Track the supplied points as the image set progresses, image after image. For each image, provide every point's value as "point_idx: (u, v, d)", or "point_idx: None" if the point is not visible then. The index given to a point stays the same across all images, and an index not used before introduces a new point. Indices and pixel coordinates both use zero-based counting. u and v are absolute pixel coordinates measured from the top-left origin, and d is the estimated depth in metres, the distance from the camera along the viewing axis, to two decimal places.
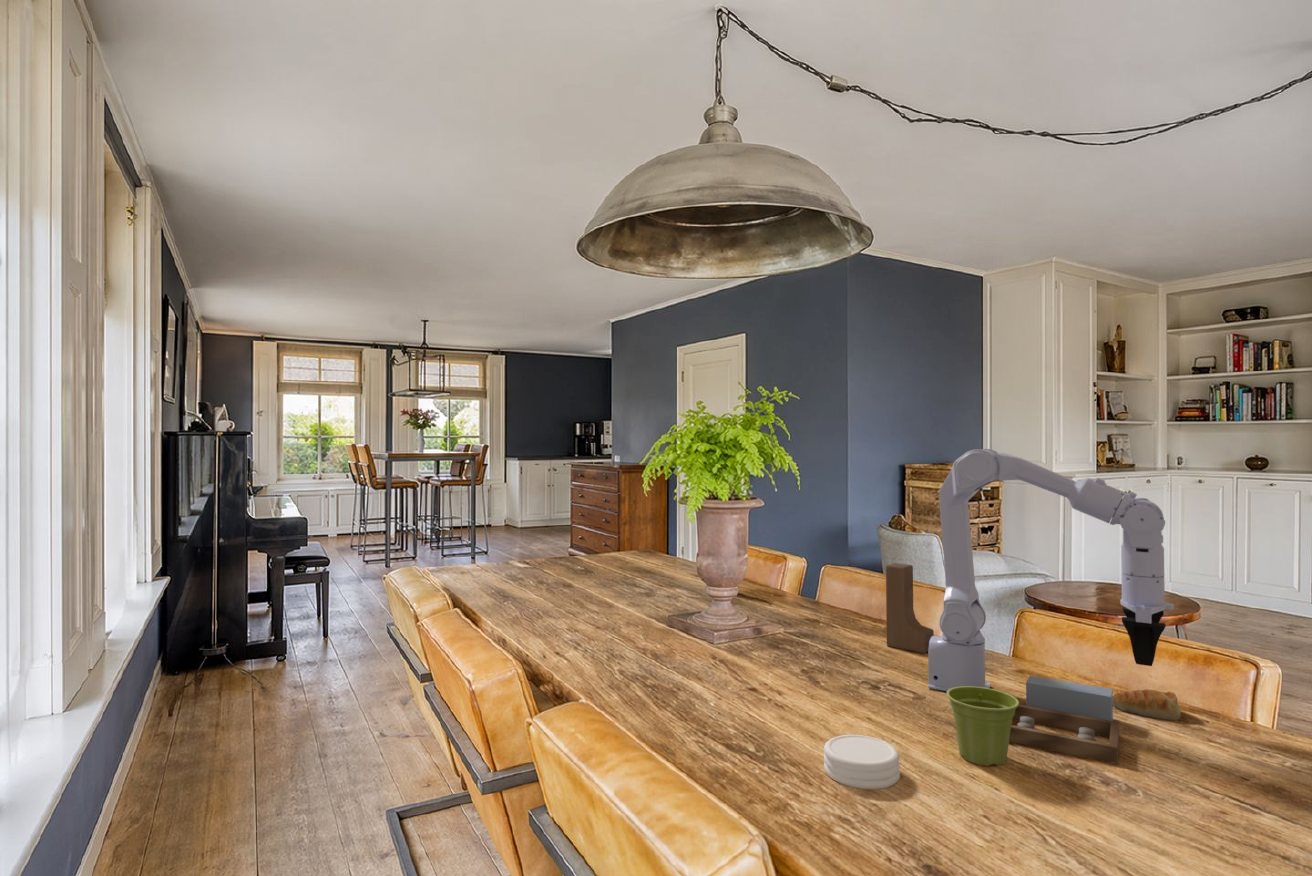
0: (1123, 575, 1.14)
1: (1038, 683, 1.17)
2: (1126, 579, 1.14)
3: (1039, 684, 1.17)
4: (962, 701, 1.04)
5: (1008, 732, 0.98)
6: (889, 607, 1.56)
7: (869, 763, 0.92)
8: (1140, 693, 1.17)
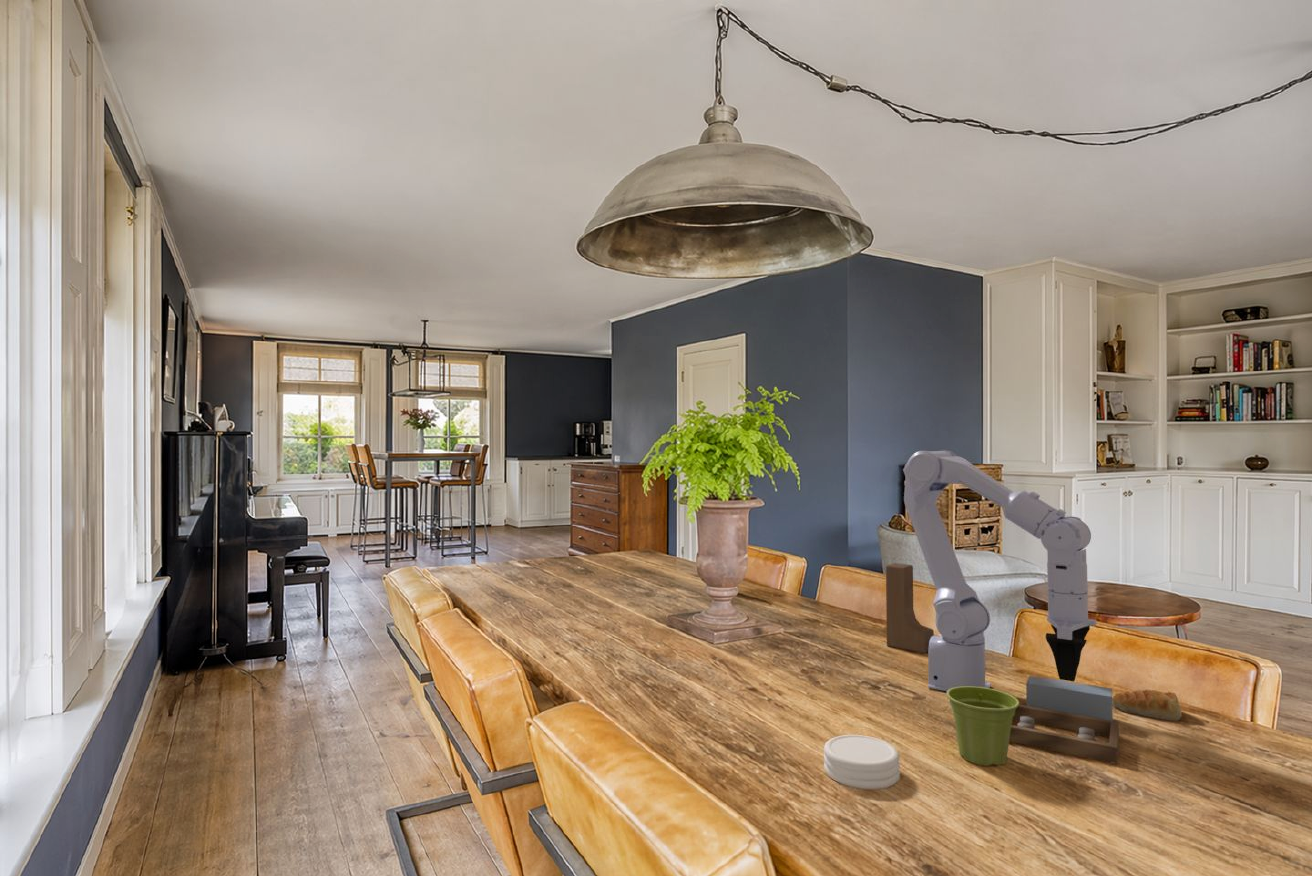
0: (1048, 592, 1.17)
1: (1039, 684, 1.17)
2: (1051, 596, 1.16)
3: (1040, 684, 1.17)
4: (962, 701, 1.04)
5: (1008, 732, 0.98)
6: (889, 607, 1.56)
7: (869, 763, 0.92)
8: (1141, 694, 1.17)
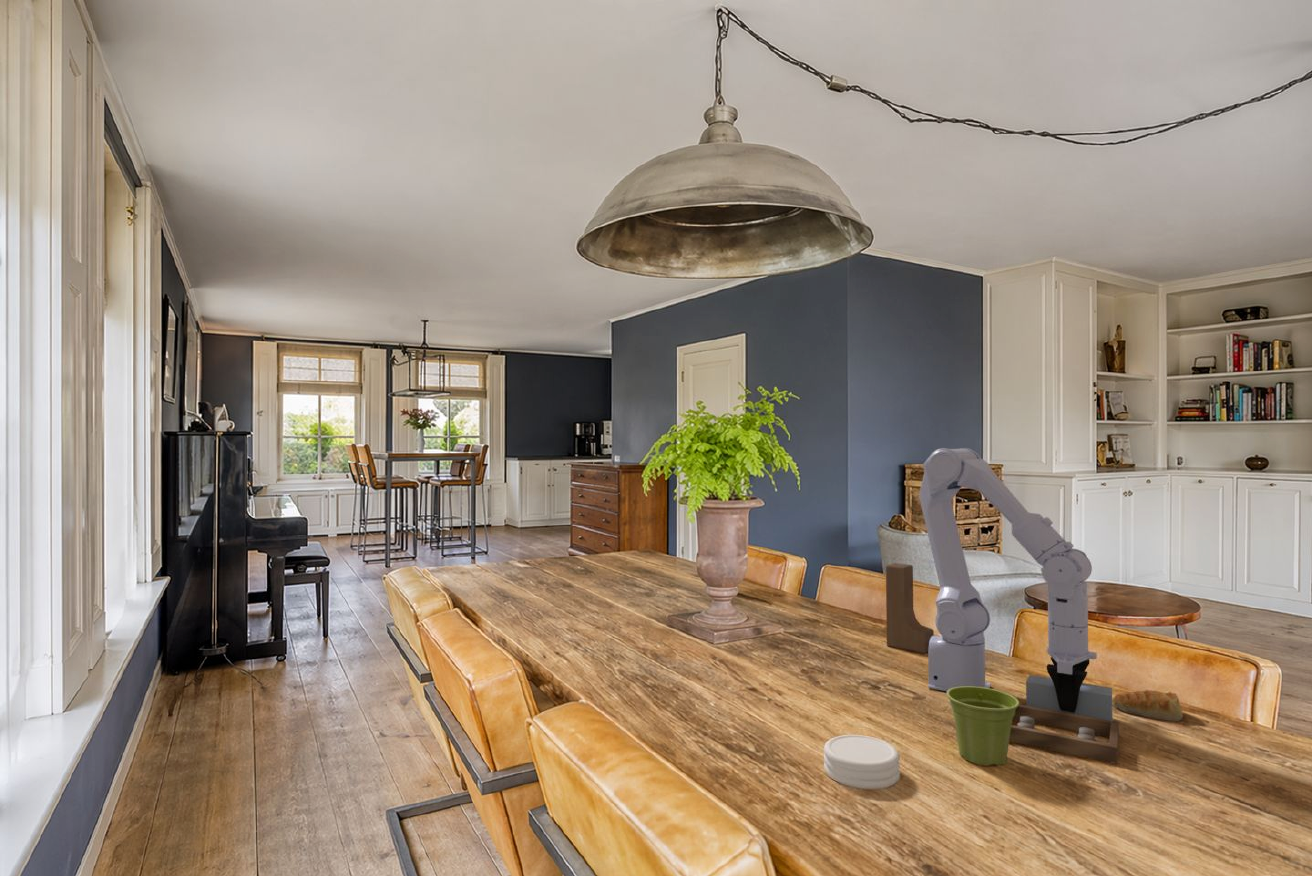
0: (1049, 624, 1.17)
1: (1038, 683, 1.17)
2: (1051, 628, 1.16)
3: (1039, 683, 1.17)
4: (962, 701, 1.04)
5: (1008, 732, 0.98)
6: (889, 607, 1.56)
7: (869, 763, 0.92)
8: (1142, 694, 1.17)
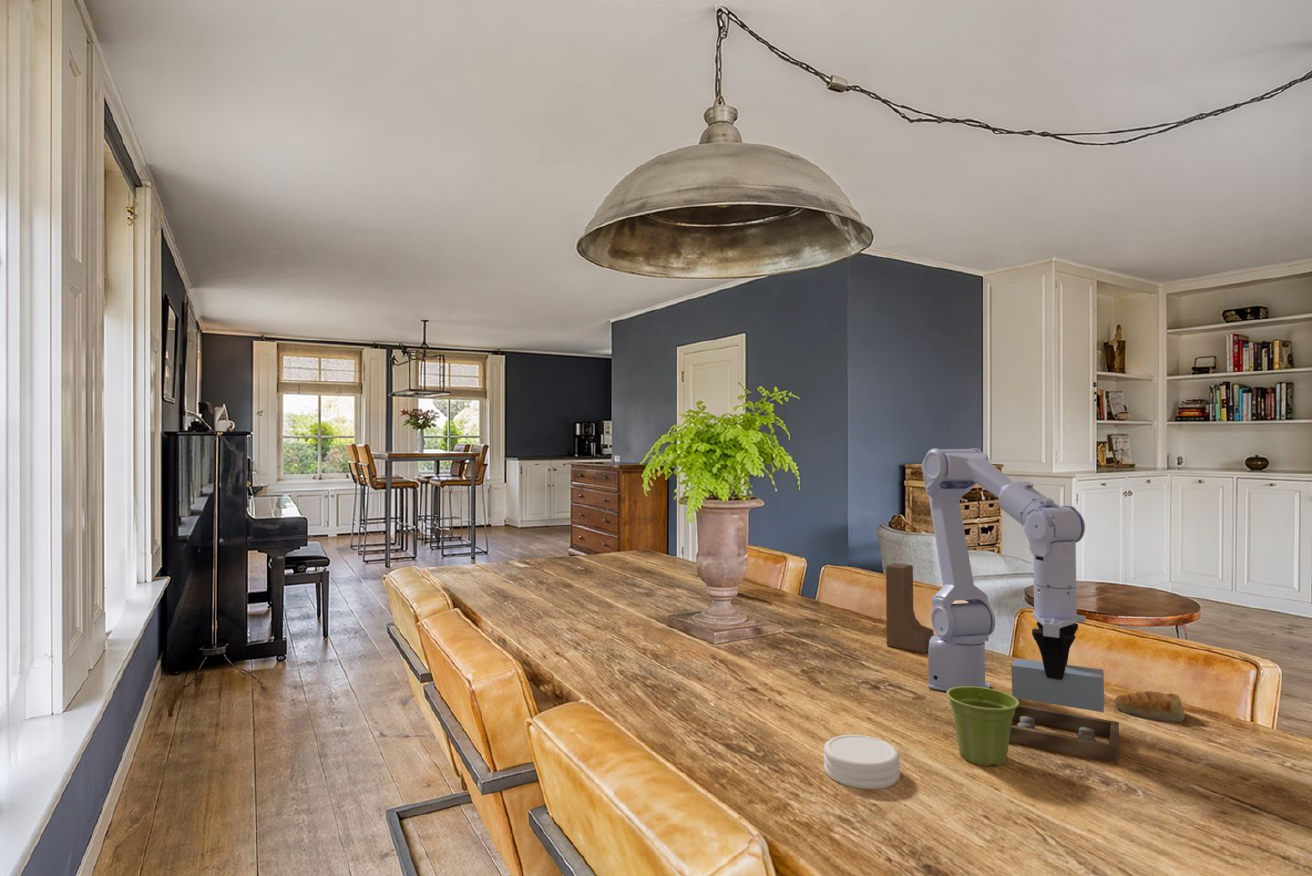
0: (1035, 586, 1.09)
1: (1025, 666, 1.09)
2: (1037, 590, 1.08)
3: (1026, 666, 1.09)
4: (962, 701, 1.04)
5: (1008, 732, 0.98)
6: (889, 607, 1.56)
7: (869, 763, 0.92)
8: (1143, 696, 1.16)
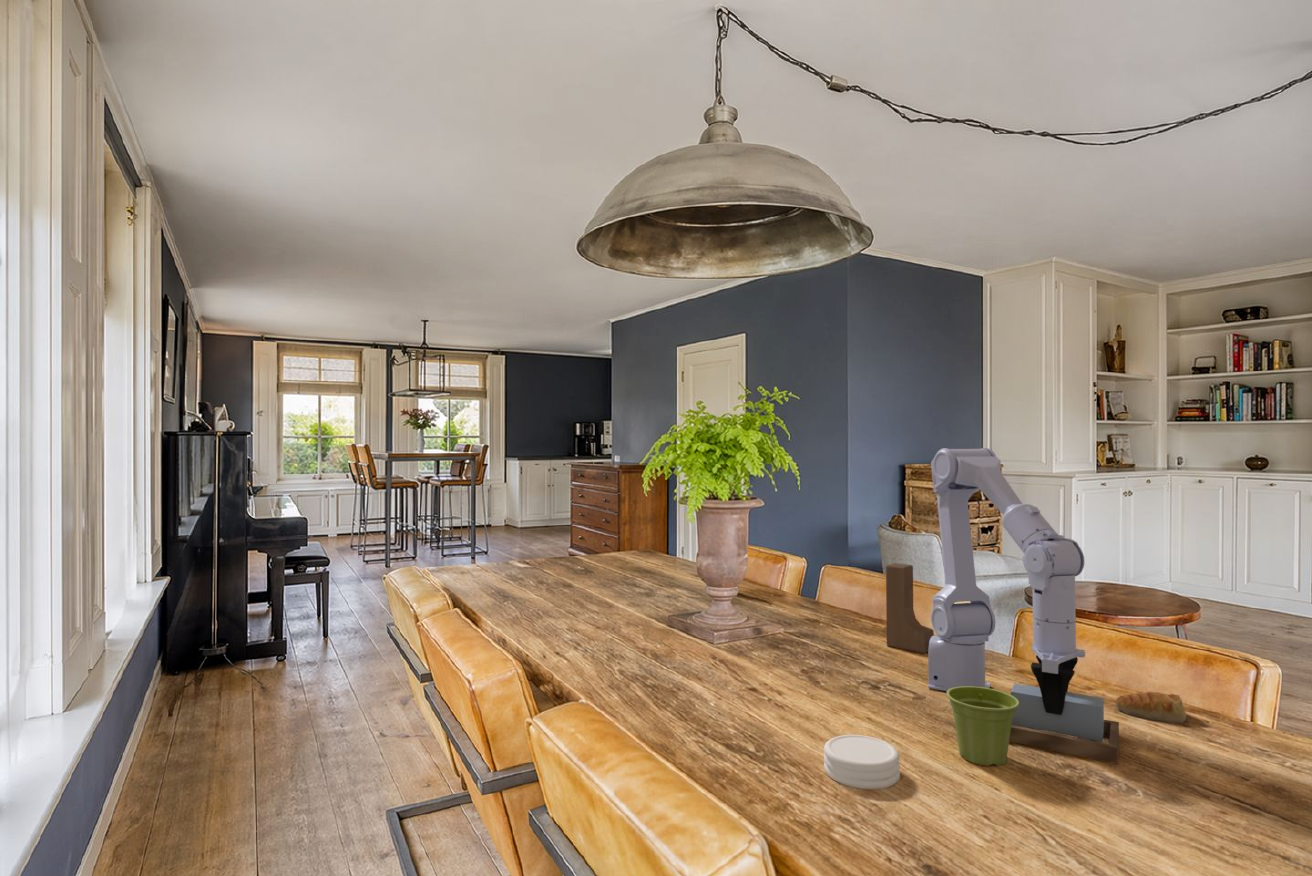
0: (1034, 620, 1.08)
1: (1024, 692, 1.08)
2: (1036, 624, 1.07)
3: (1025, 693, 1.08)
4: (962, 701, 1.04)
5: (1008, 732, 0.98)
6: (889, 607, 1.56)
7: (869, 764, 0.92)
8: (1145, 696, 1.16)
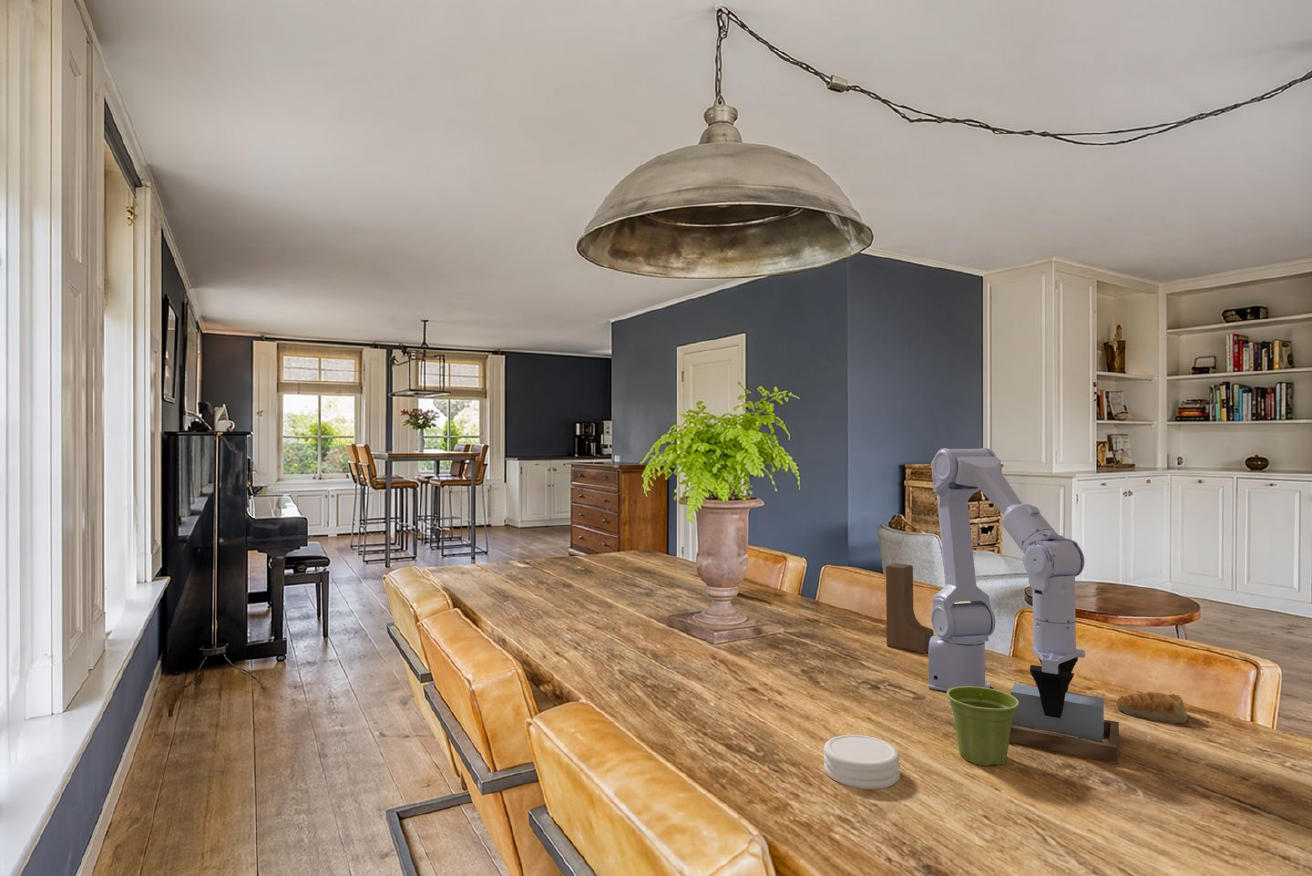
0: (1034, 620, 1.08)
1: (1024, 692, 1.08)
2: (1036, 624, 1.07)
3: (1025, 693, 1.08)
4: (962, 701, 1.04)
5: (1008, 732, 0.98)
6: (889, 607, 1.56)
7: (869, 763, 0.92)
8: (1146, 697, 1.16)
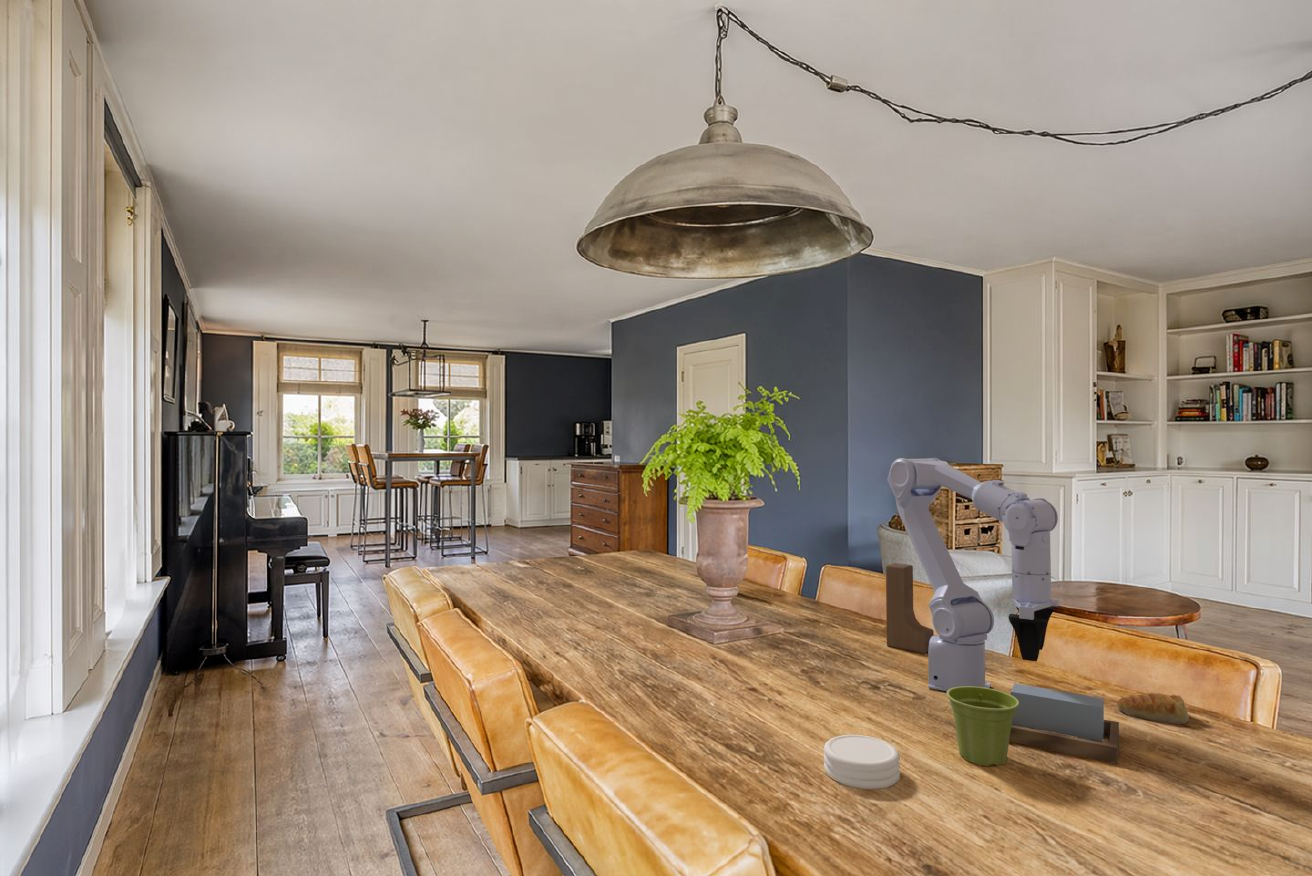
0: (1012, 573, 1.17)
1: (1024, 692, 1.08)
2: (1015, 577, 1.17)
3: (1025, 693, 1.08)
4: (962, 701, 1.04)
5: (1008, 732, 0.98)
6: (889, 607, 1.56)
7: (869, 763, 0.92)
8: (1147, 698, 1.15)
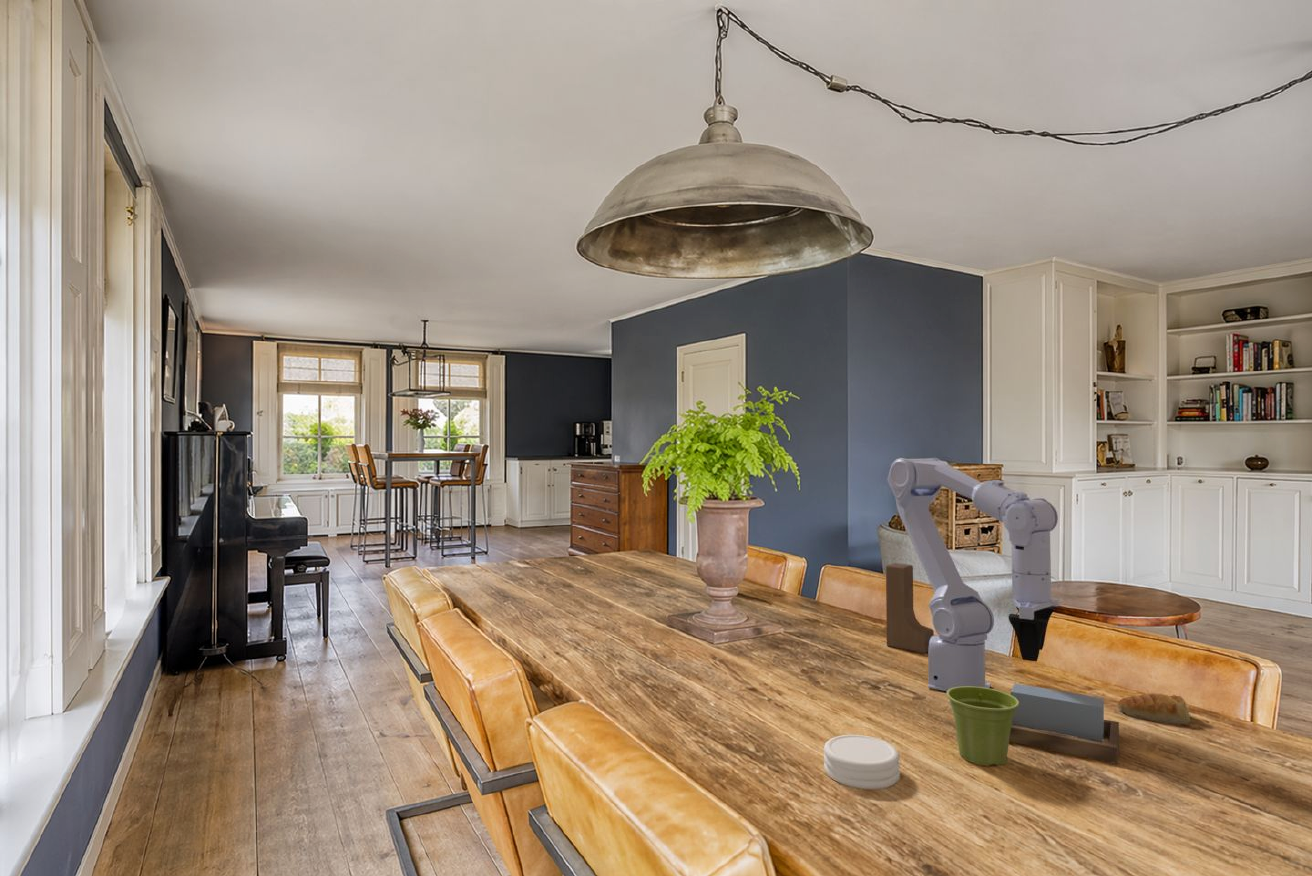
0: (1012, 573, 1.17)
1: (1024, 692, 1.08)
2: (1015, 577, 1.17)
3: (1025, 693, 1.08)
4: (962, 701, 1.04)
5: (1008, 732, 0.98)
6: (889, 607, 1.56)
7: (869, 763, 0.92)
8: (1148, 698, 1.15)
